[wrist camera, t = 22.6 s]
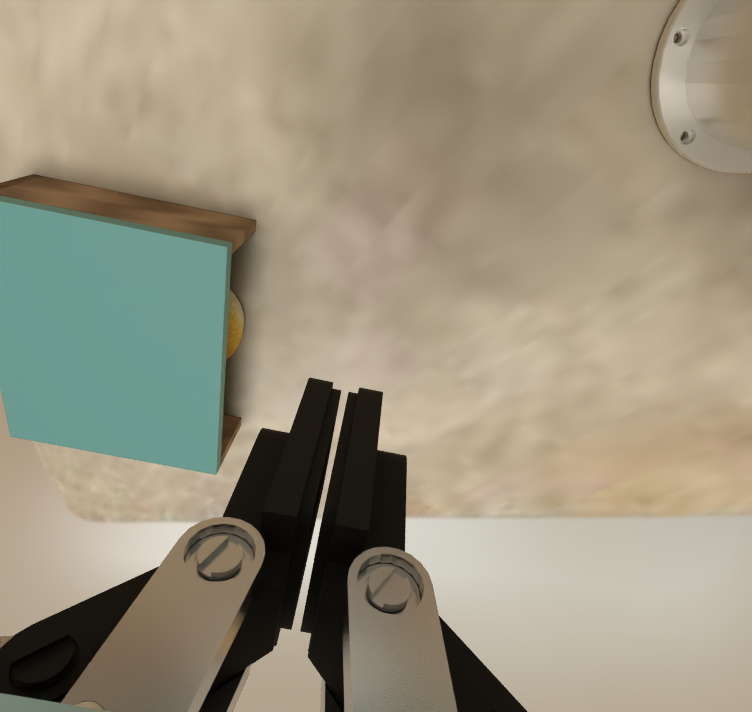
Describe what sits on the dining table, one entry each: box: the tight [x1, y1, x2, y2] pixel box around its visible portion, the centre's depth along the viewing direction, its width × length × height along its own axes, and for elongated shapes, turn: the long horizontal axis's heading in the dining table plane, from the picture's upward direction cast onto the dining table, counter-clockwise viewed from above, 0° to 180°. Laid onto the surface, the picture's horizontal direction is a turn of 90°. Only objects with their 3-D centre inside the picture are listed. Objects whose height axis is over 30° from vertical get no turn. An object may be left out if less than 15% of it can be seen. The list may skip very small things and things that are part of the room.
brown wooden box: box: [0, 175, 256, 466], centre depth 39 cm, size 16×19×6 cm
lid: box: [0, 195, 232, 475], centre depth 36 cm, size 16×19×1 cm
